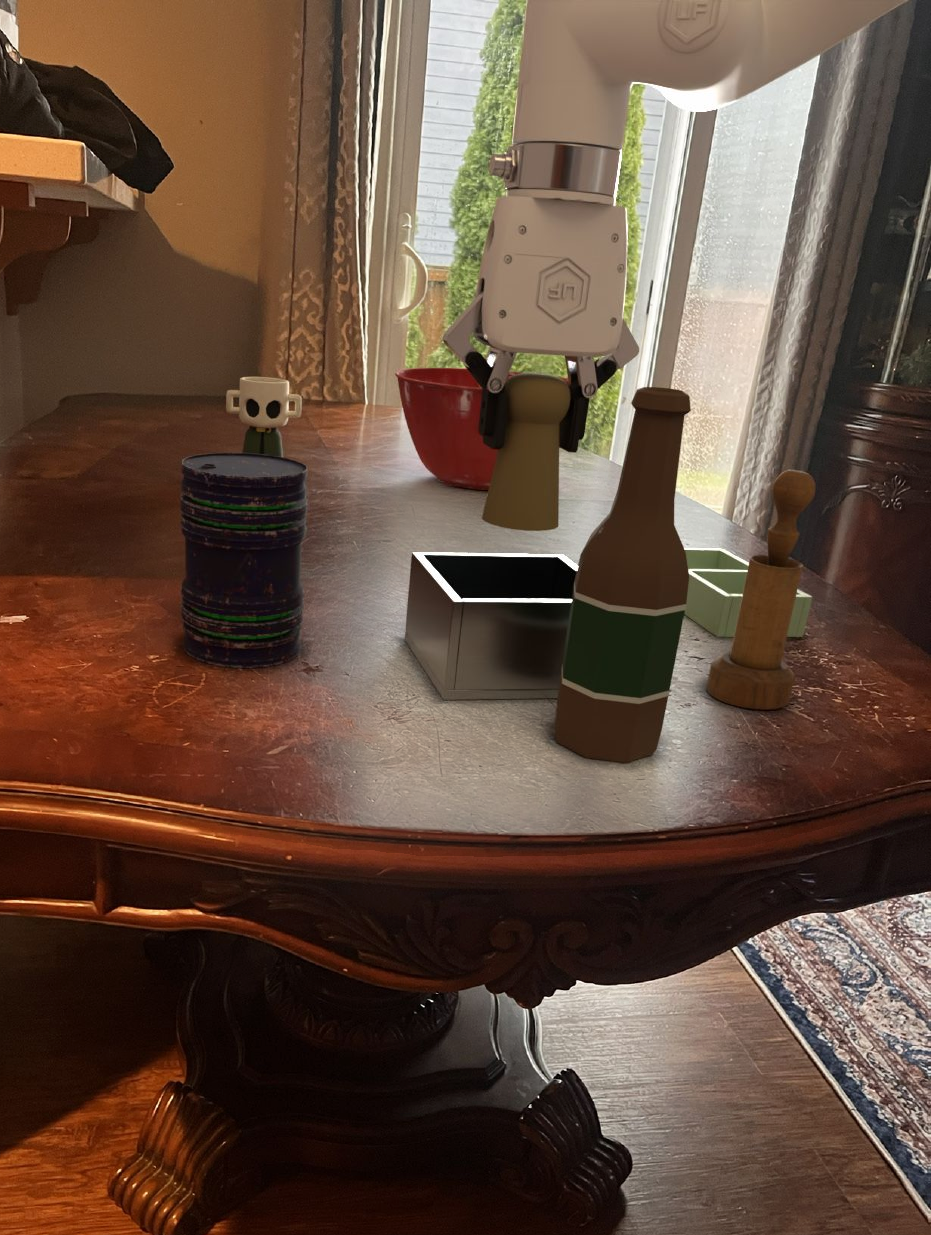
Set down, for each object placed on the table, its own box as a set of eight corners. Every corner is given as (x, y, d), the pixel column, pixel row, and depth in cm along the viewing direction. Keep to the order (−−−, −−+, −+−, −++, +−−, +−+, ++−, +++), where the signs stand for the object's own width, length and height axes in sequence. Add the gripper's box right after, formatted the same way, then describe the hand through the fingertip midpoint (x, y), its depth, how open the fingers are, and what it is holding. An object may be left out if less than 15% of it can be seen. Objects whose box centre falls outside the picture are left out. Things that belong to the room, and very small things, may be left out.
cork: (467, 519, 81) (482, 370, 77) (504, 508, 86) (521, 367, 81) (536, 534, 78) (556, 380, 74) (571, 522, 83) (592, 377, 78)
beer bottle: (572, 709, 79) (624, 379, 70) (673, 737, 76) (741, 393, 66) (531, 743, 73) (581, 385, 64) (639, 775, 70) (709, 401, 60)
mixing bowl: (368, 488, 150) (375, 375, 144) (408, 457, 176) (415, 360, 170) (566, 510, 145) (582, 395, 139) (577, 475, 171) (591, 376, 165)
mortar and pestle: (713, 674, 89) (759, 459, 82) (793, 691, 87) (847, 471, 79) (699, 698, 83) (746, 470, 76) (783, 717, 81) (841, 483, 74)
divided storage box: (715, 584, 116) (723, 548, 114) (803, 637, 100) (813, 596, 99) (639, 583, 114) (645, 547, 112) (716, 637, 98) (725, 596, 97)
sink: (551, 639, 94) (563, 554, 91) (610, 697, 82) (626, 602, 79) (404, 639, 91) (411, 551, 88) (443, 700, 79) (453, 601, 76)
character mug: (223, 472, 153) (224, 379, 147) (227, 463, 159) (228, 374, 154) (298, 477, 153) (302, 384, 148) (299, 468, 160) (302, 379, 155)
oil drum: (276, 622, 93) (281, 451, 87) (321, 661, 85) (330, 475, 79) (166, 633, 89) (163, 453, 82) (203, 674, 81) (202, 478, 75)
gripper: (457, 164, 67) (432, 452, 74) (701, 188, 71) (654, 461, 78) (429, 171, 74) (409, 435, 81) (653, 193, 77) (614, 443, 85)
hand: (529, 445), depth 80 cm, fingers closed on cork, 5 cm apart
